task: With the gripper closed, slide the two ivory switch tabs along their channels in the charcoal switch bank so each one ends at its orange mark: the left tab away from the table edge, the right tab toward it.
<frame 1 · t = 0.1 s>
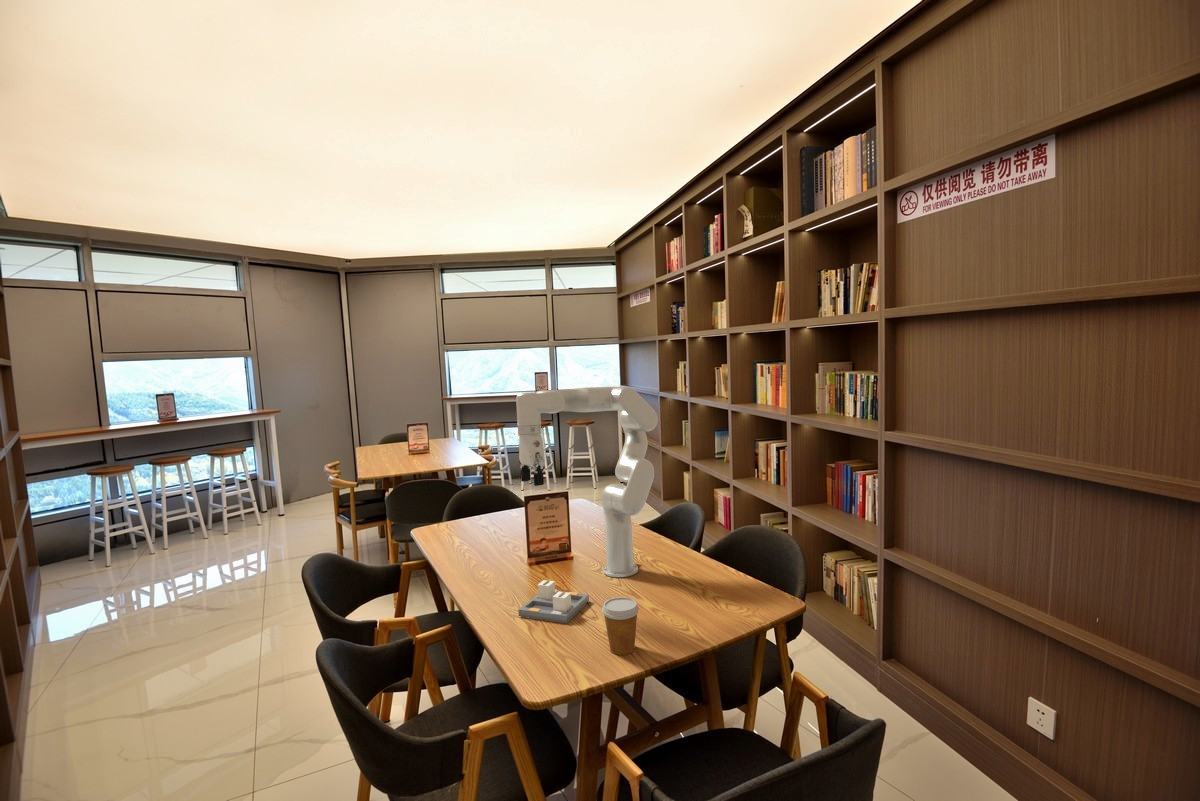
hand: (532, 483, 178), 37 cm above the table, tool pointing down, fingers open, 9 cm apart
switch bank: (554, 608, 169), on the table
disposable coffee cup: (622, 650, 142), on the table
right tab: (562, 602, 164), point 4 cm above the table, slide at 0.0 cm
left tab: (546, 590, 174), point 4 cm above the table, slide at 0.0 cm
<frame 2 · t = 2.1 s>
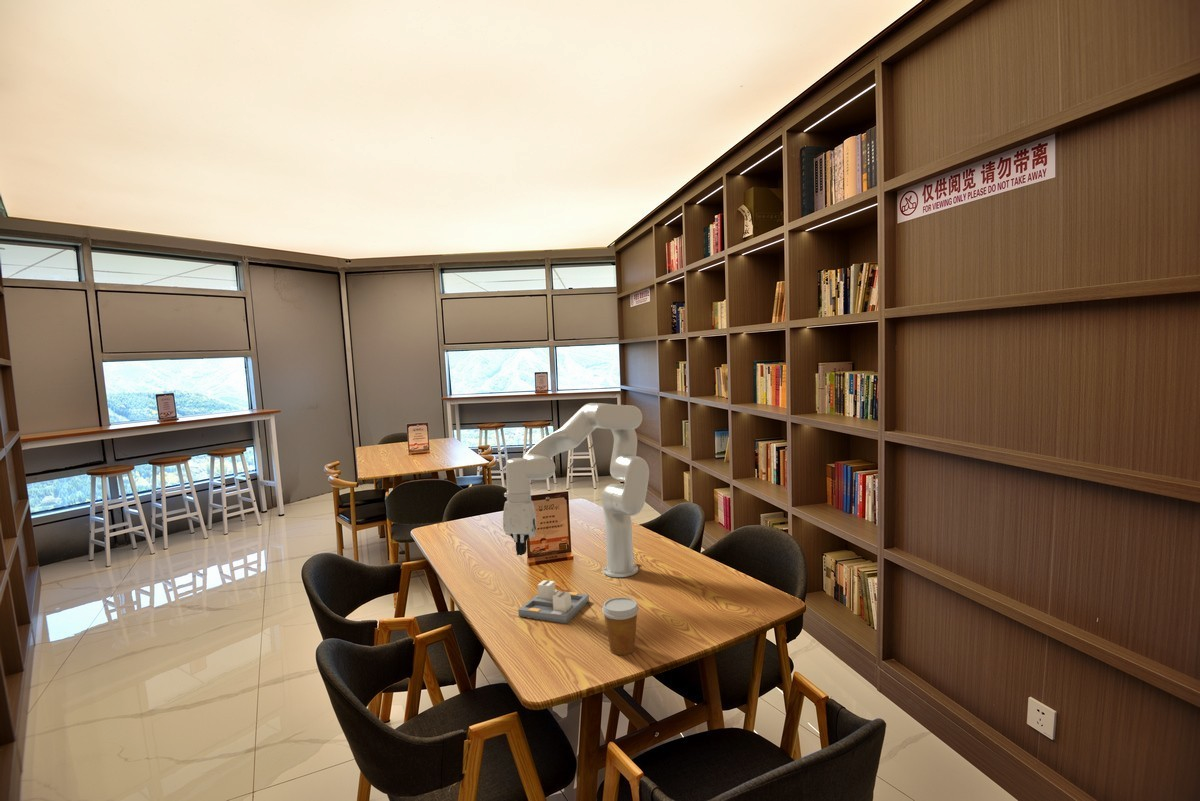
hand: (521, 553, 176), 15 cm above the table, tool pointing down, fingers closed
nothing on the table moved.
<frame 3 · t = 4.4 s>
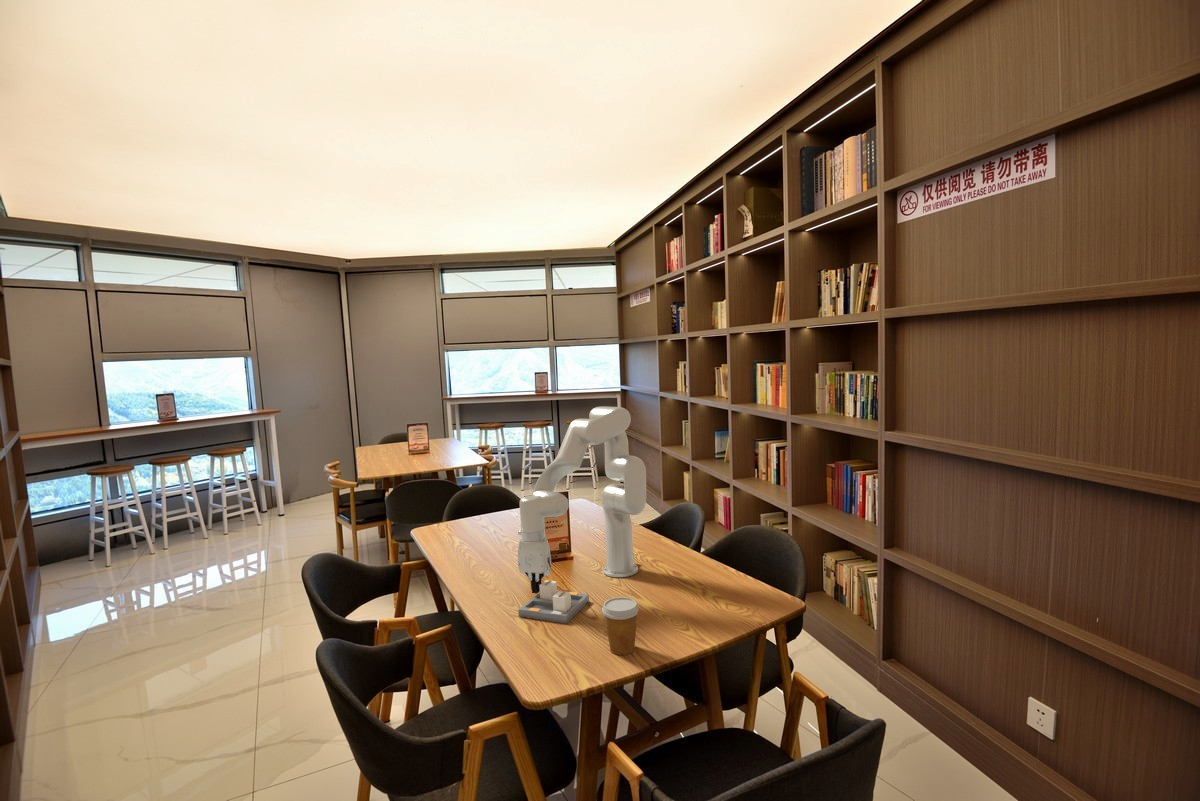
hand: (536, 591, 175), 3 cm above the table, tool pointing down, fingers closed
left tab: (548, 590, 174), point 4 cm above the table, slide at 0.7 cm, touching gripper
everything else where it was.
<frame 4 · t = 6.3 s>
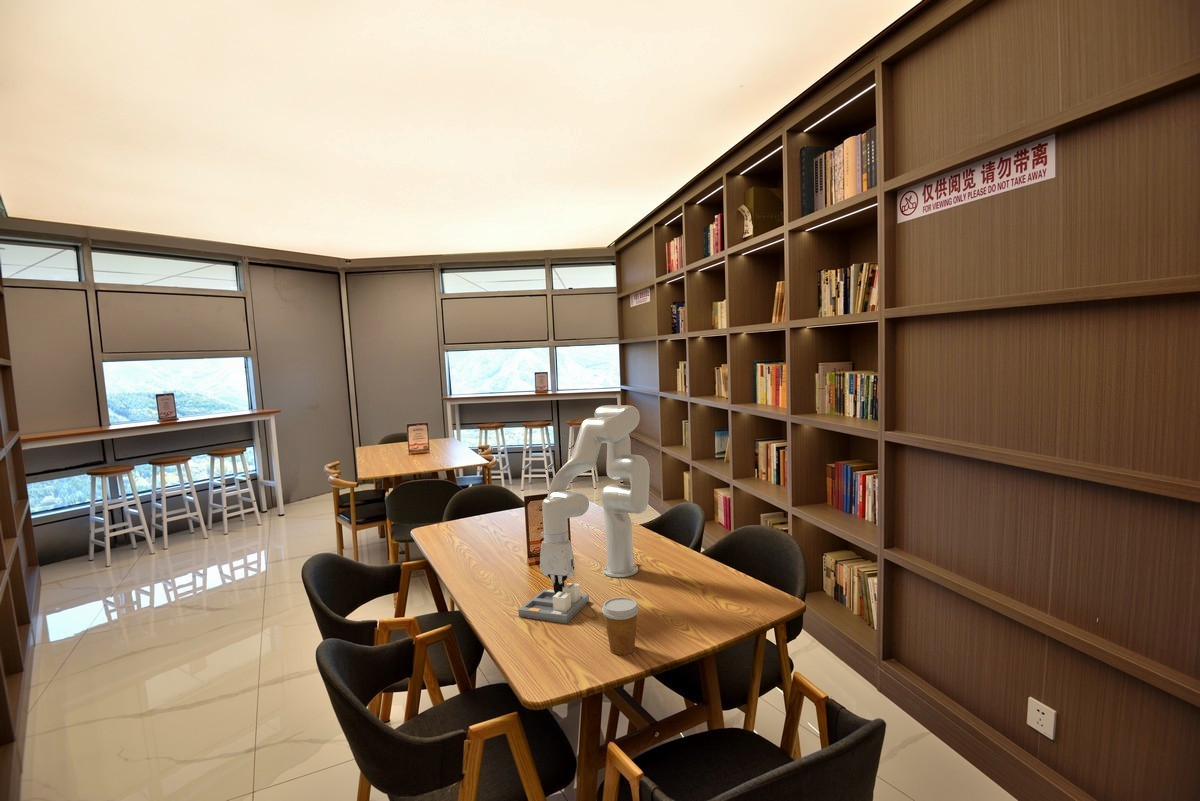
hand: (559, 594, 172), 3 cm above the table, tool pointing down, fingers closed
left tab: (571, 593, 170), point 4 cm above the table, slide at 8.8 cm, touching gripper
everything else where it was.
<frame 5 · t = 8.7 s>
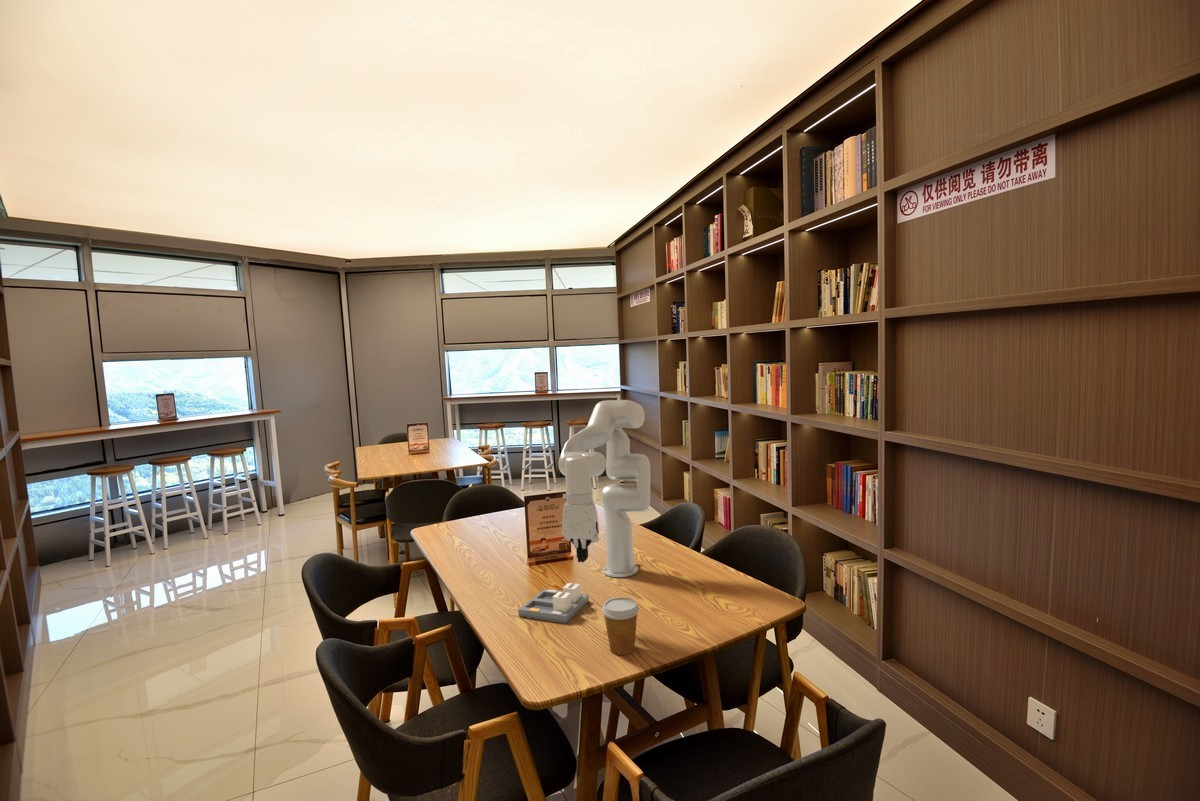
hand: (582, 560, 160), 17 cm above the table, tool pointing down, fingers closed
left tab: (571, 593, 170), point 4 cm above the table, slide at 8.8 cm
everything else where it was.
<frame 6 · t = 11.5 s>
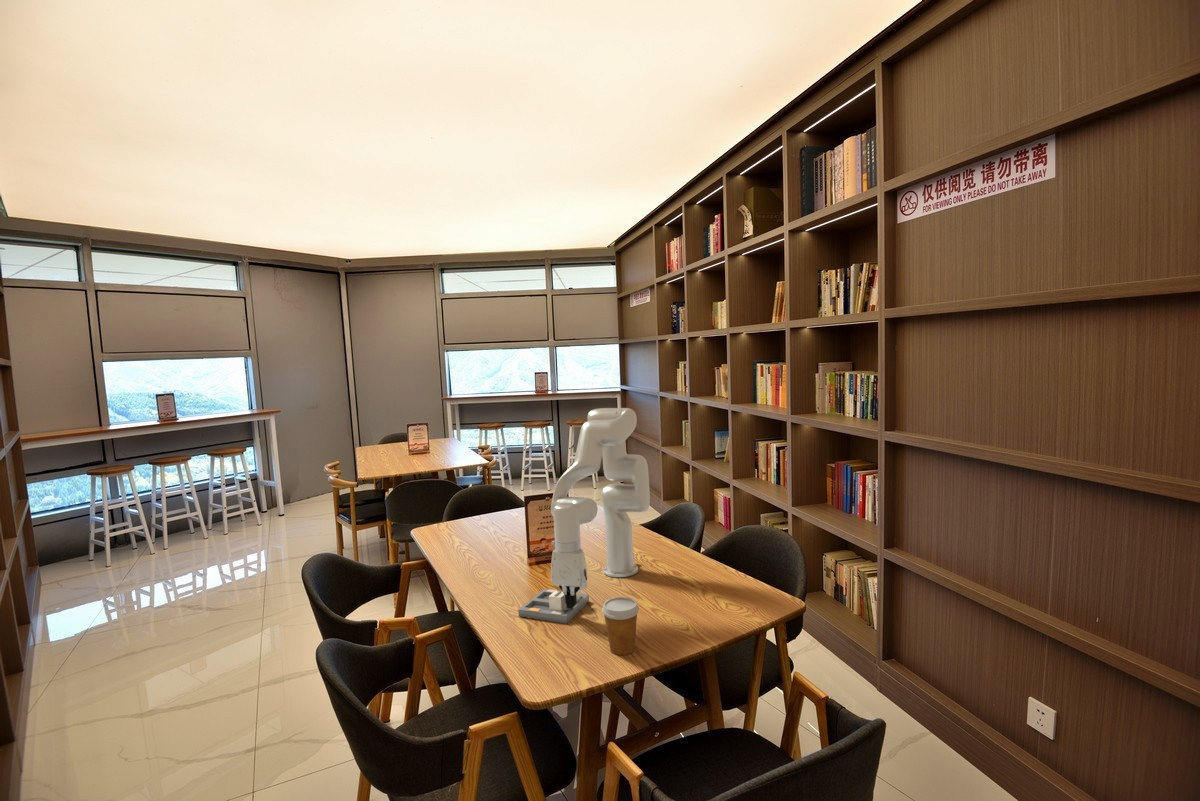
hand: (571, 606, 163), 3 cm above the table, tool pointing down, fingers closed
right tab: (558, 602, 164), point 4 cm above the table, slide at 1.3 cm, touching gripper
everything else where it was.
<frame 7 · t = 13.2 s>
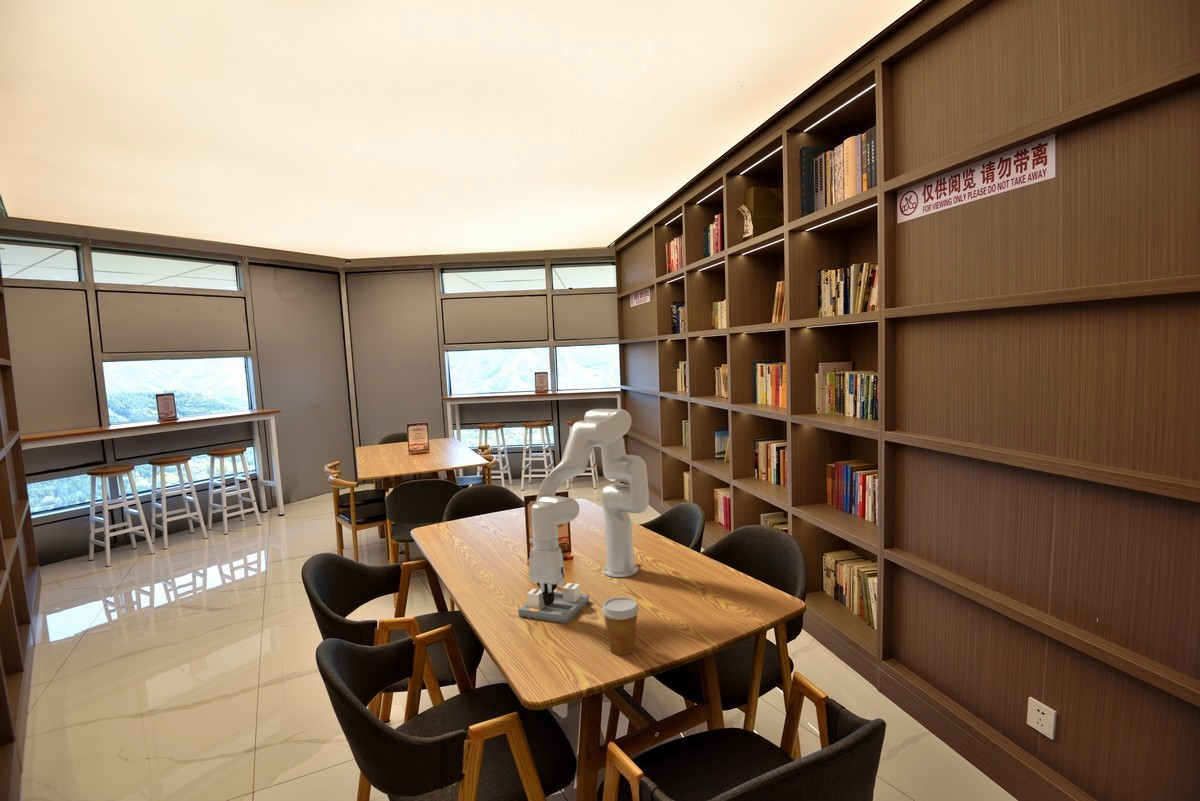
hand: (549, 603, 166), 3 cm above the table, tool pointing down, fingers closed
right tab: (536, 599, 167), point 4 cm above the table, slide at 8.8 cm, touching gripper
everything else where it was.
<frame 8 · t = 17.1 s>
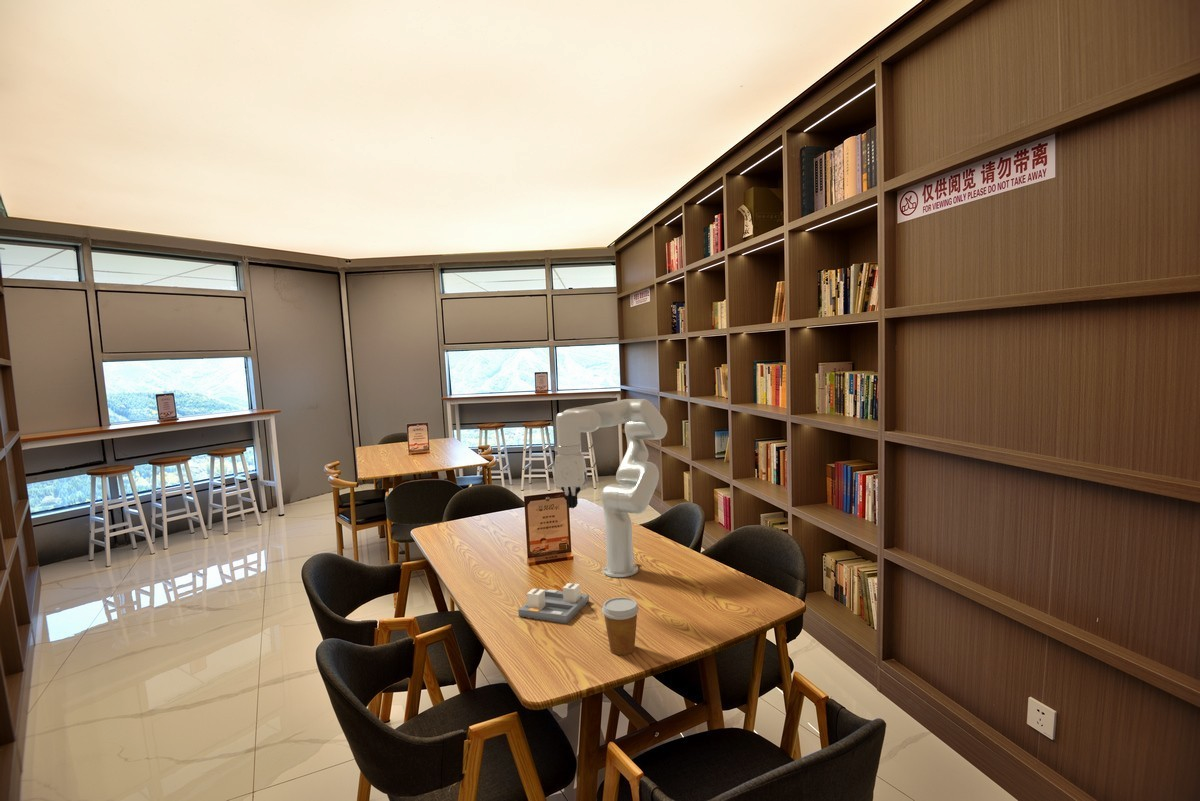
hand: (572, 507, 177), 29 cm above the table, tool pointing down, fingers closed
right tab: (536, 599, 167), point 4 cm above the table, slide at 8.8 cm
everything else where it was.
at the end: left tab slide at 8.8 cm; right tab slide at 8.8 cm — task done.
